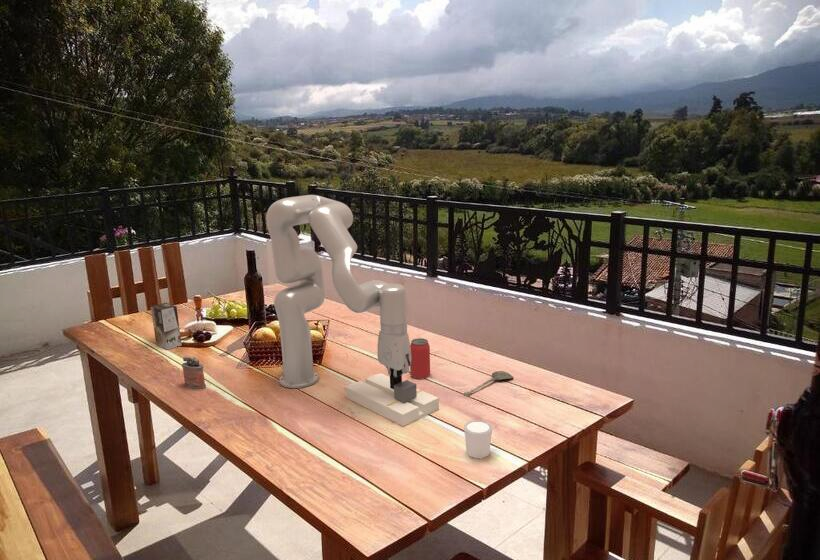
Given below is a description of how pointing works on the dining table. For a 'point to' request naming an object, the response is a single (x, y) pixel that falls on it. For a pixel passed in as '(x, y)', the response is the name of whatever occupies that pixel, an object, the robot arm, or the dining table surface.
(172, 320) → the coffee box
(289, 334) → the robot arm
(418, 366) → the beer can
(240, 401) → the dining table surface
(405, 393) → the fader knob
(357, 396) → the slider console
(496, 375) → the soupspoon
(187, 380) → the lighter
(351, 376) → the dining table surface
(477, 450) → the white cup
